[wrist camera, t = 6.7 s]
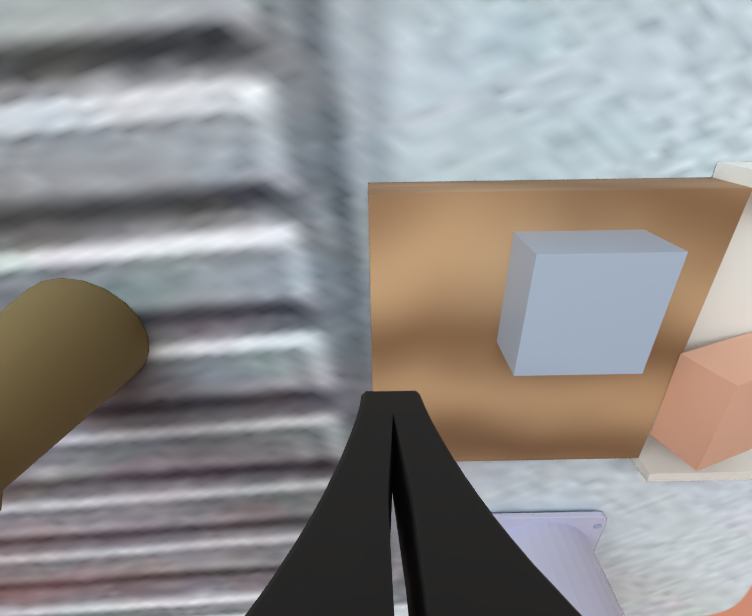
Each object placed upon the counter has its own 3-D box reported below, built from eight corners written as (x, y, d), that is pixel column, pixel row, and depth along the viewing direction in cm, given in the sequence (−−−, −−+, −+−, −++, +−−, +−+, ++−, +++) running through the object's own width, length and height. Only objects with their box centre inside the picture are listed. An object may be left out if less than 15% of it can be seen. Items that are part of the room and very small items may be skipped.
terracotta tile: (722, 408, 22) (772, 440, 20) (650, 434, 20) (696, 471, 18) (759, 329, 19) (821, 357, 17) (680, 353, 18) (737, 385, 16)
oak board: (618, 429, 23) (638, 457, 21) (373, 434, 23) (374, 462, 21) (712, 177, 16) (752, 187, 15) (368, 182, 16) (368, 194, 15)
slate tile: (609, 340, 18) (642, 373, 16) (496, 341, 18) (513, 375, 16) (644, 229, 15) (688, 251, 13) (513, 231, 15) (536, 254, 13)
